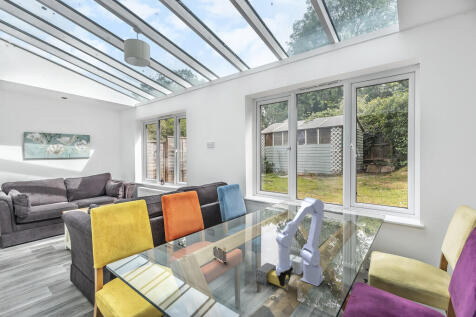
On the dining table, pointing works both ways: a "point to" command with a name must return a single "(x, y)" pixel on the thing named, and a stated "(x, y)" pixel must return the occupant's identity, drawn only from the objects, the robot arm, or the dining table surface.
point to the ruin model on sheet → (219, 253)
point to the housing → (265, 273)
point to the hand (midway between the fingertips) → (284, 283)
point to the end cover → (275, 280)
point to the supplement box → (297, 264)
